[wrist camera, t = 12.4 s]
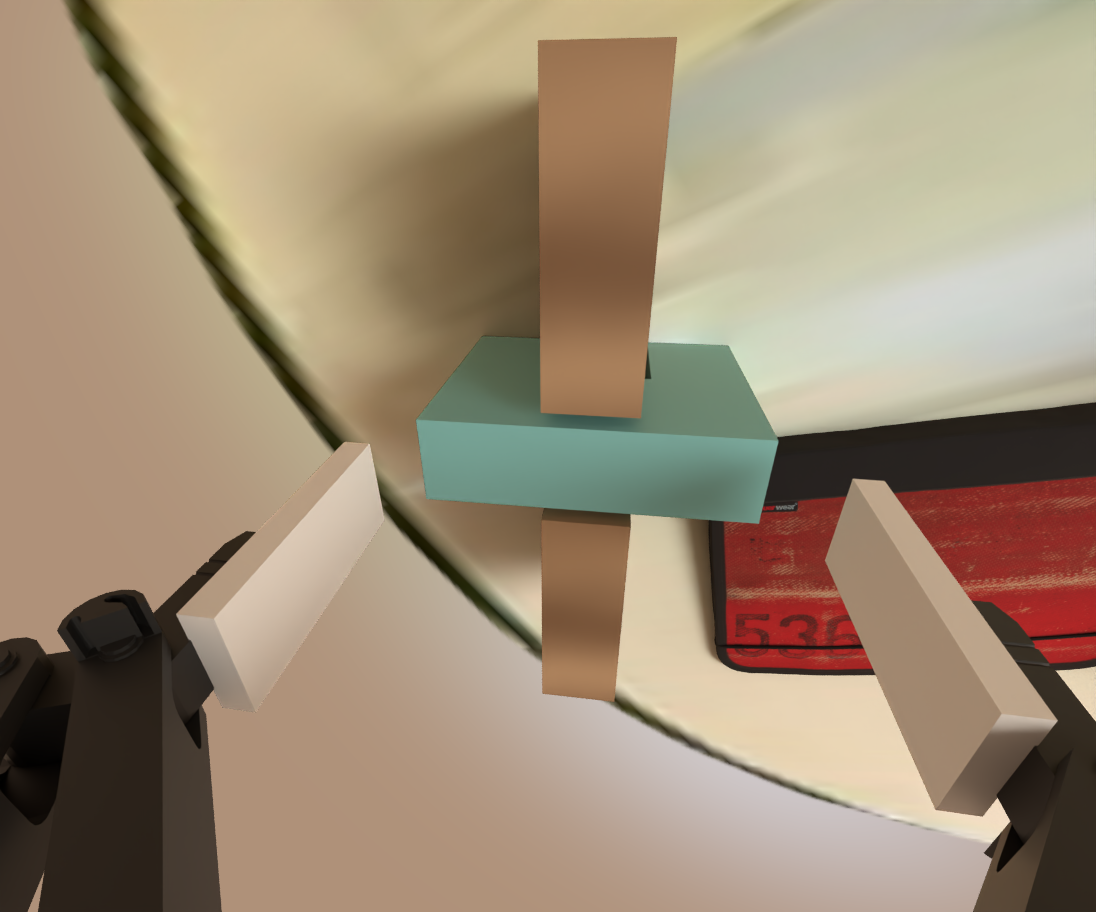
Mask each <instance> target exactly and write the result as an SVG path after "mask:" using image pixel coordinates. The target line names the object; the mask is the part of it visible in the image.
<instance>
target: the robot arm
mask: <svg viewBox="0 0 1096 912" xmlns="http://www.w3.org/2000/svg"><path fill="white" fill-rule="evenodd" d="M383 522H384V514H383V509H382V504H381V499H380V494H379V489H378V484H377V478H376V473H375V468H374V463H373V458H372V453H371V448H370V444H368V443H354V442H344V443H343V444H342V445H341V446H340V447H339V448H338V449H337V450H336V451H335V452H334V453H333V454H332V455H331V456H330V457H329V458H328V459H327V460H326V461H325V462H324V464H323V465H322V466H321V467H320V468H319V469H318V470H317V471H316V472H315V473H314V474H313V475H312V476H311V477H310V478H309V479H308V480H307V481H306V482H305V483H304V484H303V485H302V486H301V487H300V488H299V489H298V490H297V491H296V492H295V493H294V494H293V495H292V496H291V497H290V498H289V499H288V500H287V501H286V502H285V503H284V505H282V506H281V507H280V508H279V509H278V511H276V512H275V514H274V515H273V516H272V517H271V518H270V519H269V520H268V521H267V522H266V523H265V524H264V525H263V526H262V527H261V528H260V529H259V530H258V531H257V532H248V531H246V532H244V533H242V534H241V535H239V536H237V537H236V538H234V539H232V540H231V541H229V542H227V543H225V544H224V545H223V546H222V547H221V548H220V549H219V550H218V551H217V552H216V553H215V554H214V555H213V556H212V557H211V558H210V559H209V562H206V563H205V564H204V565H203V566H202V567H201V568H199V569H198V571H197V572H196V575H192V576H191V577H190V578H189V579H188V580H187V581H186V582H185V583H184V584H183V585H182V586H181V587H180V588H179V589H178V590H177V591H176V592H175V593H174V594H173V595H172V596H171V597H170V598H169V599H168V600H167V601H166V602H165V603H163V605H161V606H160V607H159V608H158V609H157V610H156V611H155V612H154V613H153V612H152V610H151V608H150V606H149V604H148V602H147V600H146V598H145V597H144V595H143V594H142V593H140V592H138V591H136V590H118V591H114V592H109V593H105V594H103V595H100V596H98V597H95V598H93V599H90V600H88V601H87V602H85V603H83V604H82V605H80V606H79V607H77V608H75V609H74V610H73V611H72V612H71V613H70V614H69V615H67V617H66V618H64V619H63V620H62V622H61V624H60V626H59V628H58V630H57V631H58V633H59V634H60V636H61V637H62V639H63V640H64V642H65V643H66V645H67V646H68V648H69V649H70V651H68V652H61V653H55V654H46V653H45V652H44V650H43V649H42V647H41V646H40V645H39V643H38V642H37V640H34V639H30V638H27V637H26V638H14V639H9V640H6V641H3V642H0V912H28V909H29V907H30V904H31V902H32V899H33V897H34V894H35V892H36V890H37V887H38V885H39V882H40V880H41V878H42V875H43V873H44V878H43V884H42V890H41V897H40V902H39V909H38V912H222V911H221V898H220V885H219V873H218V860H217V847H216V835H215V823H214V810H213V797H212V784H211V771H210V759H209V746H208V734H207V721H206V714H205V712H204V709H203V707H202V704H203V702H204V701H205V700H206V699H207V697H208V696H209V695H210V693H211V692H212V691H213V690H214V692H215V694H216V696H217V698H218V700H219V702H220V704H221V706H222V708H229V709H236V710H243V711H250V712H256V711H257V710H258V708H259V707H260V705H261V704H262V702H263V701H264V699H265V698H266V696H267V695H268V693H269V692H270V690H271V689H272V687H273V686H274V685H275V683H276V681H277V680H278V678H279V677H280V676H281V674H282V673H283V671H284V670H285V668H286V667H287V665H288V664H289V662H290V661H291V659H292V658H293V656H294V655H295V653H296V652H297V650H298V649H299V647H300V646H301V644H302V643H303V641H304V640H305V638H306V637H307V635H308V634H309V632H310V631H311V629H312V628H313V626H314V625H315V623H316V622H317V620H318V619H319V617H320V616H321V614H322V613H323V611H324V610H325V608H326V607H327V605H328V604H329V602H330V601H331V599H332V598H333V597H334V595H335V594H336V592H337V590H338V589H339V587H340V586H341V584H342V583H343V582H344V580H345V579H346V577H347V576H348V574H349V573H350V571H351V570H352V568H353V567H354V565H355V564H356V562H357V561H358V559H359V558H360V556H361V554H362V553H363V552H364V550H365V549H366V547H367V546H368V544H369V543H370V541H371V540H372V538H373V537H374V535H375V534H376V532H377V531H378V529H379V528H380V526H381V525H382V523H383ZM825 562H826V564H827V566H828V568H829V571H830V573H831V575H832V577H833V580H834V582H835V584H836V586H837V589H838V591H839V593H840V595H841V598H842V600H843V602H844V604H845V607H846V609H847V611H848V613H849V616H850V618H851V620H852V623H853V625H854V627H855V629H856V632H857V634H858V636H859V638H860V641H861V643H862V645H863V647H864V650H865V652H866V654H867V656H868V659H869V661H870V663H871V665H872V668H873V670H874V672H875V674H876V677H877V679H878V681H879V683H880V686H881V688H882V690H883V692H884V695H885V697H886V699H887V701H888V704H889V706H890V708H891V710H892V713H893V715H894V717H895V719H896V722H897V724H898V726H899V728H900V731H901V733H902V735H903V737H904V740H905V742H906V744H907V747H908V749H909V751H910V753H911V756H912V758H913V760H914V762H915V765H916V767H917V769H918V771H919V774H920V776H921V778H922V780H923V783H924V785H925V787H926V789H927V792H928V794H929V796H930V798H931V801H932V803H933V805H934V807H935V810H941V811H947V812H954V813H961V814H968V815H975V816H982V817H983V815H984V814H985V813H986V812H987V810H988V809H989V808H990V806H991V805H992V804H993V803H994V801H995V800H996V799H997V798H998V799H999V801H1000V803H1001V805H1002V807H1003V808H1004V810H1005V812H1006V814H1007V816H1008V818H1009V819H1010V823H1009V824H1008V825H1007V826H1006V827H1005V829H1004V830H1003V831H1002V832H1001V833H1000V834H999V836H998V837H997V838H996V839H995V840H994V842H993V843H992V844H991V845H990V846H989V848H988V849H987V850H986V851H985V852H984V853H985V854H986V855H987V856H989V857H990V858H992V861H991V864H990V867H989V869H988V872H987V875H986V877H985V880H984V883H983V886H982V889H981V891H980V894H979V897H978V899H977V902H976V905H975V908H974V911H973V912H1096V722H1095V720H1094V719H1093V718H1092V716H1091V715H1090V714H1089V713H1088V711H1087V710H1086V709H1085V708H1084V706H1083V705H1082V704H1081V702H1080V701H1079V700H1078V699H1077V697H1076V696H1075V695H1074V694H1073V692H1072V691H1071V690H1070V688H1069V687H1068V686H1067V685H1066V683H1065V682H1064V681H1063V680H1062V678H1061V677H1060V676H1059V675H1058V673H1057V672H1056V671H1055V669H1054V668H1050V666H1049V664H1050V663H1049V662H1048V661H1047V659H1046V658H1045V657H1044V655H1043V654H1042V653H1041V652H1040V650H1039V649H1035V644H1034V643H1033V641H1032V640H1031V639H1030V638H1029V636H1028V635H1027V634H1026V633H1025V631H1024V630H1023V629H1022V627H1021V626H1020V625H1019V624H1018V622H1016V621H1015V620H1014V619H1012V618H1011V617H1010V616H1009V615H1007V614H1006V613H1005V612H1003V611H1002V610H1001V609H1000V608H998V607H997V606H996V605H994V604H993V603H992V602H983V601H973V600H970V598H969V597H968V596H967V594H966V593H965V592H964V590H963V589H962V587H961V586H960V585H959V583H958V582H957V580H956V579H955V578H954V576H953V575H952V574H951V572H950V571H949V569H948V568H947V567H946V565H945V564H944V563H943V561H942V560H941V558H940V557H939V556H938V554H937V553H936V551H935V550H934V549H933V547H932V546H931V545H930V543H929V542H928V540H927V539H926V538H925V536H924V535H923V533H922V532H921V531H920V529H919V528H918V527H917V525H916V524H915V522H914V521H913V520H912V518H911V517H910V515H909V514H908V513H907V511H906V510H905V509H904V507H903V506H902V504H901V503H900V502H899V500H898V499H897V497H896V496H895V495H894V493H893V492H892V491H891V489H890V488H889V486H888V485H887V484H886V482H885V481H877V480H863V479H853V480H852V483H851V486H850V489H849V492H848V494H847V497H846V500H845V503H844V506H843V509H842V512H841V515H840V518H839V521H838V524H837V527H836V530H835V533H834V536H833V539H832V541H831V544H830V547H829V550H828V553H827V556H826V559H825ZM44 870H45V871H44Z"/></svg>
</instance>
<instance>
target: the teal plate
mask: <svg viewBox="0 0 1096 912" xmlns="http://www.w3.org/2000/svg"><path fill="white" fill-rule="evenodd" d="M416 424H417V431H418V439H419V446H420V454H421V461H422V469H423V476H424V484H425V491H426V499H435V500H448V501H461V502H475V503H488V504H501V505H515V506H528V507H542V508H555V509H568V510H582V511H595V512H609V513H622V514H635V515H649V516H662V517H675V518H689V519H702V520H716V521H729V522H742V523H756V524H759V520H760V516H761V512H762V508H763V504H764V500H765V495H766V491H767V487H768V483H769V479H770V474H771V470H772V466H773V462H774V458H775V454H776V449H777V445H778V439H777V437H776V435H775V433H774V431H773V429H772V427H771V425H770V424H769V422H768V420H767V418H766V416H765V414H764V412H763V410H762V408H761V407H760V405H759V403H758V401H757V399H756V397H755V395H754V393H753V391H752V389H751V388H750V386H749V384H748V382H747V380H746V378H745V376H744V374H743V372H742V371H741V369H740V367H739V365H738V363H737V361H736V359H735V357H734V355H733V353H732V352H731V350H730V348H729V346H723V345H698V344H672V343H648V348H647V359H646V369H645V380H644V391H643V401H642V412H641V418H624V417H606V416H587V415H569V414H551V413H541V399H540V338H520V337H494V336H482V337H481V339H480V340H479V341H478V342H477V344H476V345H475V346H474V347H473V349H472V350H471V351H470V352H469V354H468V355H467V356H466V358H465V359H464V360H463V361H462V363H461V364H460V365H459V366H458V368H457V369H456V370H455V371H454V373H453V374H452V375H451V376H450V378H449V379H448V380H447V381H446V383H445V384H444V385H443V386H442V388H441V389H440V390H439V391H438V393H437V394H436V395H435V396H434V398H433V399H432V400H431V402H430V403H429V404H428V405H427V407H426V408H425V409H424V410H423V412H422V413H421V414H420V415H419V417H418V418H417V419H416Z"/></svg>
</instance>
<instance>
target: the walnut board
mask: <svg viewBox="0 0 1096 912" xmlns="http://www.w3.org/2000/svg"><path fill="white" fill-rule="evenodd" d="M676 42H677V37H665V38H621V39H578V40H538V104H539V251H540V399H541V413H551V414H569V415H587V416H606V417H624V418H641V412H642V401H643V391H644V380H645V369H646V359H647V348H648V338H649V327H650V317H651V306H652V296H653V285H654V274H655V264H656V253H657V243H658V232H659V222H660V211H661V201H662V190H663V179H664V169H665V158H666V148H667V137H668V127H669V116H670V106H671V95H672V84H673V74H674V63H675V53H676ZM630 528H631V520H630V514H622V513H609V512H595V511H582V510H568V509H555V508H544V511H543V515H542V520H541V546H542V686H543V688H542V690H543V691H542V692H543V694H551V695H560V696H568V697H577V698H586V699H595V700H603V701H612V702H614V697H615V686H616V676H617V665H618V655H619V644H620V633H621V623H622V612H623V602H624V591H625V581H626V570H627V560H628V549H629V538H630Z"/></svg>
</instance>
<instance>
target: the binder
mask: <svg viewBox="0 0 1096 912" xmlns="http://www.w3.org/2000/svg"><path fill="white" fill-rule="evenodd" d="M777 439H778V445H777V449H776V454H775V458H774V462H773V466H772V470H771V474H770V479H769V483H768V487H767V491H766V495H765V500H764V504H763V508H762V512H761V516H760V520H759V524H756V523H742V522H729V521H716V520H709V553H710V568H711V583H712V598H713V611H714V620H715V639H714V640H715V645H716V650H717V655H718V657H719V659H720V660H721V662H722V663H723V664H724V665H726V666H727V667H729V668H731V669H733V670H736V671H741V672H747V673H772V674H799V675H876V674H875V672H874V670H873V668H872V665H871V663H870V661H869V659H868V656H867V654H866V652H865V650H864V647H863V645H862V643H861V641H860V638H859V636H858V634H857V632H856V629H855V627H854V625H853V623H852V620H851V618H850V616H849V613H848V611H847V609H846V607H845V604H844V602H843V600H842V598H841V595H840V593H839V591H838V589H837V586H836V584H835V582H834V580H833V577H832V575H831V573H830V571H829V568H828V566H827V564H826V562H825V559H826V556H827V553H828V550H829V547H830V544H831V541H832V539H833V536H834V533H835V530H836V527H837V524H838V521H839V518H840V515H841V512H842V509H843V506H844V503H845V500H846V497H847V494H848V492H849V489H850V486H851V483H852V480H853V479H863V480H877V481H885V482H886V484H887V485H888V486H889V488H890V489H891V491H892V492H893V493H894V495H895V496H896V497H897V499H898V500H899V502H900V503H901V504H902V506H903V507H904V509H905V510H906V511H907V513H908V514H909V515H910V517H911V518H912V520H913V521H914V522H915V524H916V525H917V527H918V528H919V529H920V531H921V532H922V533H923V535H924V536H925V538H926V539H927V540H928V542H929V543H930V545H931V546H932V547H933V549H934V550H935V551H936V553H937V554H938V556H939V557H940V558H941V560H942V561H943V563H944V564H945V565H946V567H947V568H948V569H949V571H950V572H951V574H952V575H953V576H954V578H955V579H956V580H957V582H958V583H959V585H960V586H961V587H962V589H963V590H964V592H965V593H966V594H967V596H968V597H969V598H970V600H973V601H983V602H992V603H993V604H994V605H996V606H997V607H998V608H1000V609H1001V610H1002V611H1003V612H1005V613H1006V614H1007V615H1009V616H1010V617H1011V618H1012V619H1014V620H1015V621H1016V622H1018V624H1019V625H1020V626H1021V627H1022V629H1023V630H1024V631H1025V633H1026V634H1027V635H1028V636H1029V638H1030V639H1031V640H1032V641H1033V643H1034V644H1035V649H1039V650H1040V652H1041V653H1042V654H1043V655H1044V657H1045V658H1046V659H1047V661H1048V662H1049V663H1050V664H1049V666H1050V668H1054V669H1055V670H1072V669H1082V668H1089V667H1095V666H1096V402H1095V403H1086V404H1078V405H1070V406H1062V407H1055V408H1047V409H1038V410H1028V411H1017V412H1006V413H996V414H986V415H977V416H967V417H958V418H949V419H940V420H931V421H922V422H914V423H906V424H897V425H888V426H879V427H872V428H866V429H858V430H849V431H834V432H825V433H813V434H803V435H793V436H785V437H777Z"/></svg>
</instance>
